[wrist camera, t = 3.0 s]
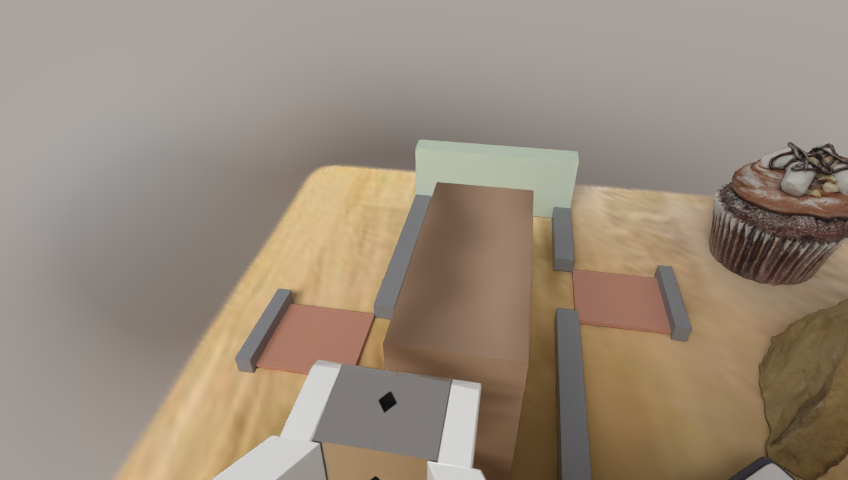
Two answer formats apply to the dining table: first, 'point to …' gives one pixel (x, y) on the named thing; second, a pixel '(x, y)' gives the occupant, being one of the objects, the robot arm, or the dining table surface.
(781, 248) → the cupcake
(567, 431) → the green panel rail frame
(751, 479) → the calculator
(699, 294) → the dining table surface
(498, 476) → the walnut block
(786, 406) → the rock
